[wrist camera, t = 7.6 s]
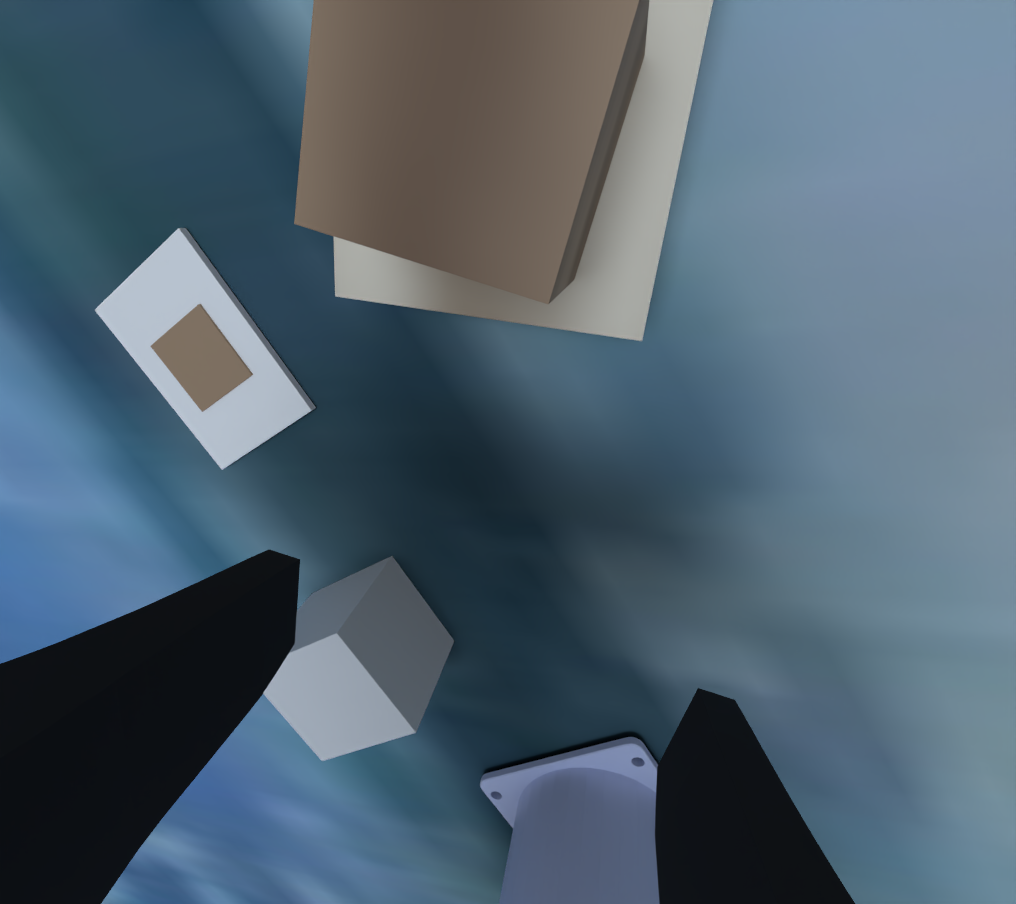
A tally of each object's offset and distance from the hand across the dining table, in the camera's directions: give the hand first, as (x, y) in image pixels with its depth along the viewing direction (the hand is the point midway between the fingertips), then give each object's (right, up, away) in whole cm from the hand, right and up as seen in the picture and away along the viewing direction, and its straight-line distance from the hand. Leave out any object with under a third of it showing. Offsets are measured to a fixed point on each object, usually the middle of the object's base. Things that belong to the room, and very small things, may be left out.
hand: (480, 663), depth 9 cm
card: (-10, +7, +10) cm, 16 cm away
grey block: (-5, -3, +13) cm, 14 cm away
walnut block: (+1, +10, +2) cm, 11 cm away
